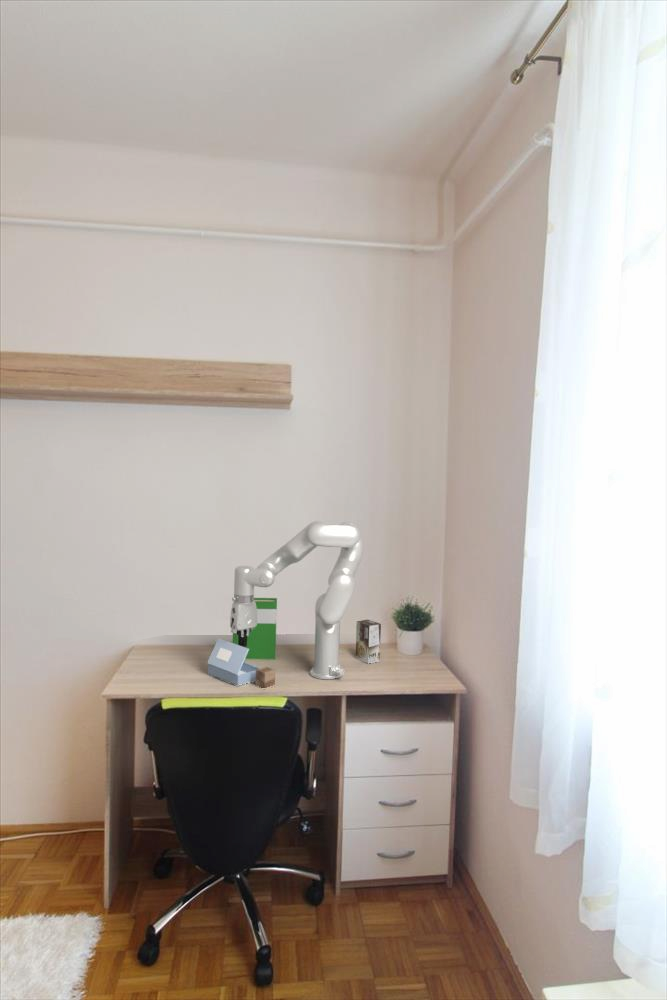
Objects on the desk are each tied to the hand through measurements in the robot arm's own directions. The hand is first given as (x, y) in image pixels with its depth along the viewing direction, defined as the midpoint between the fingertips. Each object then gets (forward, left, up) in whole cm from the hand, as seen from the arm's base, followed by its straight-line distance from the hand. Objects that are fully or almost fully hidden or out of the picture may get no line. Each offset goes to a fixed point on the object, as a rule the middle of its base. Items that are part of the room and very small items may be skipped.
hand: (242, 646), depth 255 cm
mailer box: (0, +3, -11) cm, 12 cm away
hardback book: (+15, -19, -12) cm, 26 cm away
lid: (0, +7, -3) cm, 7 cm away
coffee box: (-20, -51, -12) cm, 56 cm away
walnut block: (-15, +1, -11) cm, 19 cm away
